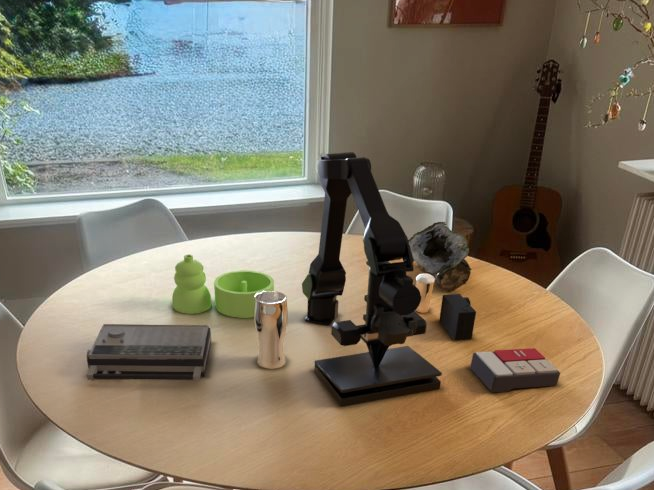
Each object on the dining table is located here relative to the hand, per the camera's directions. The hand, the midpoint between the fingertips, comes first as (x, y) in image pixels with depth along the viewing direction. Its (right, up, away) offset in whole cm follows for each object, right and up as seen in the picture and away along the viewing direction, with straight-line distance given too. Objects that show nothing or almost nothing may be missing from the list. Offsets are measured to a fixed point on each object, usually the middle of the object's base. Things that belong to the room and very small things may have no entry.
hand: (376, 365), depth 150 cm
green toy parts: (-35, +19, +30) cm, 50 cm away
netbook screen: (0, -1, 0) cm, 1 cm away
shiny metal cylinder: (+15, +18, +30) cm, 38 cm away
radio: (-48, +1, +6) cm, 48 cm away
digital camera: (+21, +11, +21) cm, 32 cm away
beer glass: (-22, +2, +7) cm, 23 cm away
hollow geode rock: (+21, +30, +46) cm, 59 cm away
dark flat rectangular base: (0, -3, +1) cm, 3 cm away
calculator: (+29, -2, +4) cm, 30 cm away
